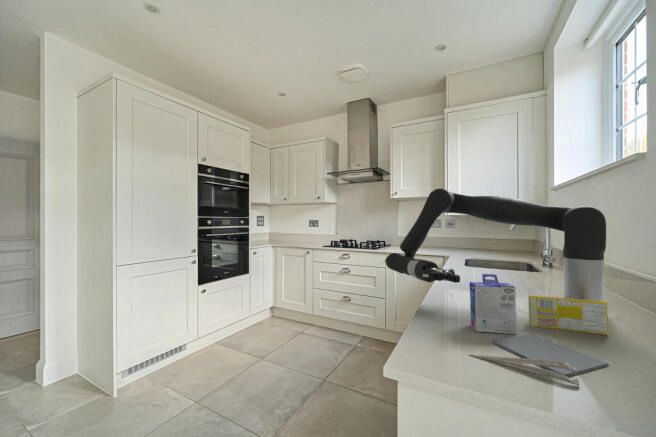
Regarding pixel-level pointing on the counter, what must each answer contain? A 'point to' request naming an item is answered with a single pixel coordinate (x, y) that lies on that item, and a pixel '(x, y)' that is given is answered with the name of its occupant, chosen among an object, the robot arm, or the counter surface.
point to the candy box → (568, 314)
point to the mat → (549, 353)
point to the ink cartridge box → (493, 306)
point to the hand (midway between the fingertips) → (458, 279)
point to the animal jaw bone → (521, 362)
